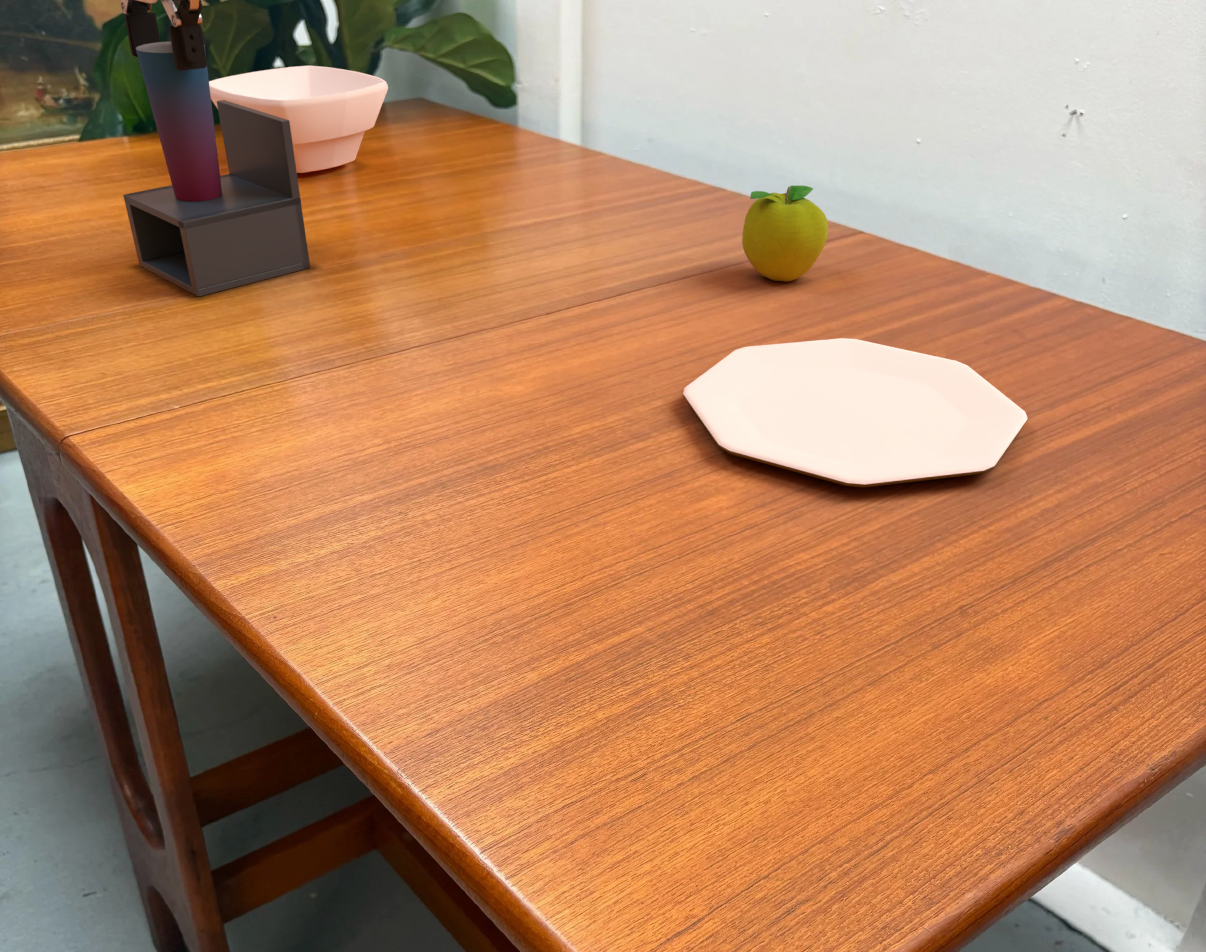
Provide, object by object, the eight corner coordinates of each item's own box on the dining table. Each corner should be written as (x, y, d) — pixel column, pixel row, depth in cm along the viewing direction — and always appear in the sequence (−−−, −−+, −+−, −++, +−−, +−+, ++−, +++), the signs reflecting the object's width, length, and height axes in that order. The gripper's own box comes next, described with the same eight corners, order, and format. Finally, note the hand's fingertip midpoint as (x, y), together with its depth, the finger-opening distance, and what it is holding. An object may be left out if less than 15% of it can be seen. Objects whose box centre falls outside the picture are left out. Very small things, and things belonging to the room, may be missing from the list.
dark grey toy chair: (198, 297, 123) (166, 141, 113) (139, 265, 131) (105, 118, 122) (310, 267, 131) (289, 120, 121) (248, 240, 139) (224, 99, 130)
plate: (655, 368, 108) (656, 353, 107) (922, 344, 113) (925, 330, 112) (754, 512, 86) (755, 495, 85) (1079, 474, 91) (1084, 457, 90)
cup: (221, 204, 123) (193, 52, 115) (158, 203, 123) (126, 52, 115) (237, 187, 129) (212, 41, 120) (177, 186, 129) (148, 41, 120)
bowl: (321, 141, 180) (311, 61, 173) (415, 166, 168) (407, 81, 162) (199, 168, 166) (183, 82, 160) (291, 196, 154) (278, 105, 148)
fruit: (722, 273, 130) (728, 183, 124) (785, 259, 134) (794, 171, 128) (774, 297, 124) (783, 203, 118) (838, 282, 128) (850, 191, 122)
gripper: (57, -138, 111) (97, 54, 121) (138, -130, 101) (174, 78, 111) (131, -138, 116) (164, 47, 125) (215, -130, 106) (244, 70, 115)
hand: (169, 62), depth 118 cm, fingers open, 9 cm apart
